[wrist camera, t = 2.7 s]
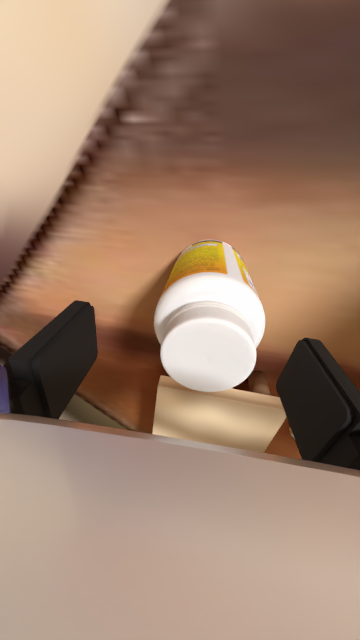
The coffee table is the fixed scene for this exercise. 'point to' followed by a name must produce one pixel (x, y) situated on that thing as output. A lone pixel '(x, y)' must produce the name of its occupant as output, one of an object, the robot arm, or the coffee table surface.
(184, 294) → the supplement bottle
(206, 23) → the coffee table surface
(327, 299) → the coffee table surface
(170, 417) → the shelf
